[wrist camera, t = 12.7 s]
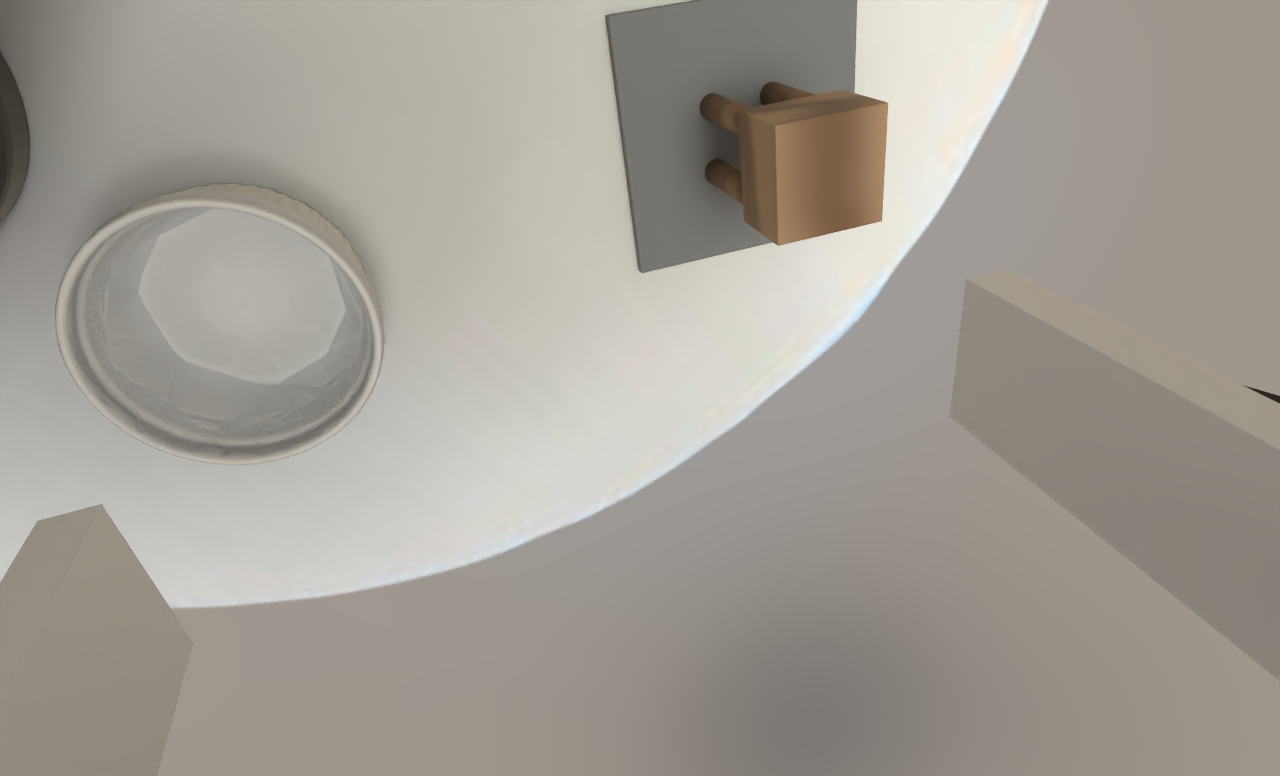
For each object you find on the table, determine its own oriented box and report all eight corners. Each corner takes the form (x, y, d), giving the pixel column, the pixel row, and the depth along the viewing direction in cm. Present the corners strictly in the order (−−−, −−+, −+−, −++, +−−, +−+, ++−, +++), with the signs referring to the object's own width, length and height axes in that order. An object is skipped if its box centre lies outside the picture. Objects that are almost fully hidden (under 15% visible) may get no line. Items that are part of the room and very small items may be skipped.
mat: (639, 269, 45) (641, 273, 45) (605, 15, 38) (608, 15, 37) (845, 220, 48) (850, 223, 47) (851, -26, 41) (857, -26, 40)
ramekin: (58, 170, 34) (-6, 213, 29) (358, 150, 38) (354, 185, 32) (154, 413, 41) (117, 488, 35) (401, 378, 44) (405, 441, 39)
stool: (701, 190, 43) (778, 245, 35) (694, 91, 41) (775, 126, 32) (787, 172, 44) (881, 221, 36) (786, 74, 42) (888, 102, 33)
